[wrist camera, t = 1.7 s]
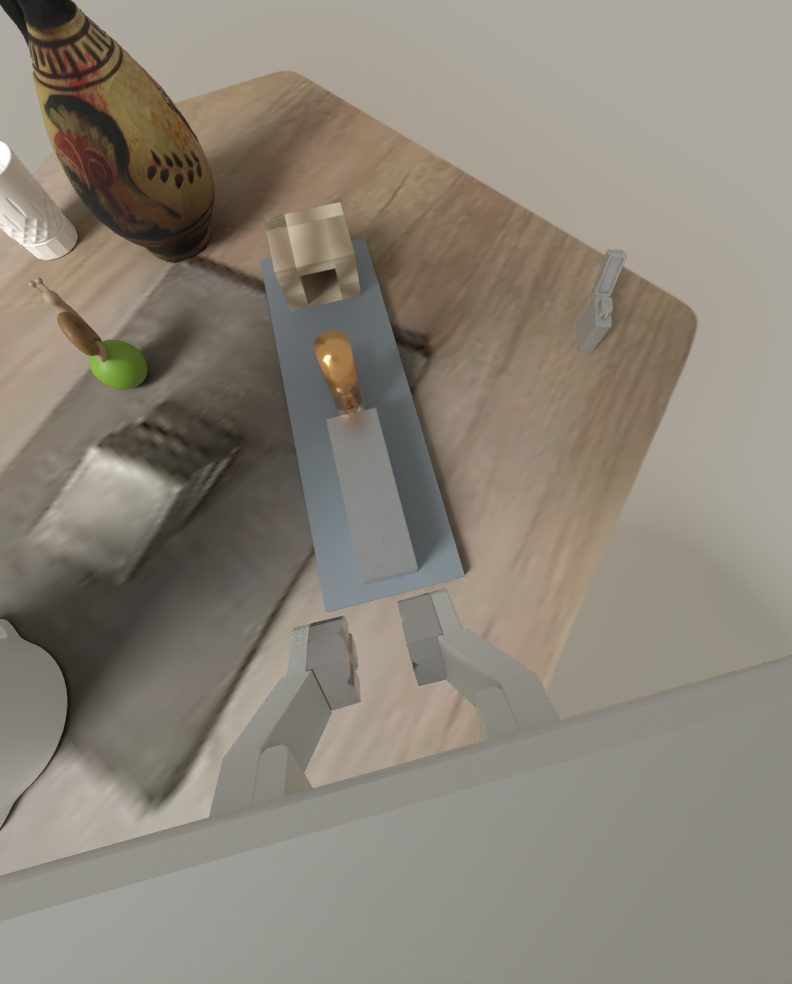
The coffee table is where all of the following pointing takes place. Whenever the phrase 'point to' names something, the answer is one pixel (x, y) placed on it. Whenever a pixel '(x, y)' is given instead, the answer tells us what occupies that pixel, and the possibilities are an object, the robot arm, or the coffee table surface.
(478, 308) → the coffee table surface
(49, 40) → the ceramic jug
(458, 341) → the coffee table surface
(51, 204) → the white cup
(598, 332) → the lighter
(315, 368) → the slate board
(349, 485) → the grey sleeve
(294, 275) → the birch socket
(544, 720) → the robot arm
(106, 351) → the snail figurine
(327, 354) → the bolt with orange handle
